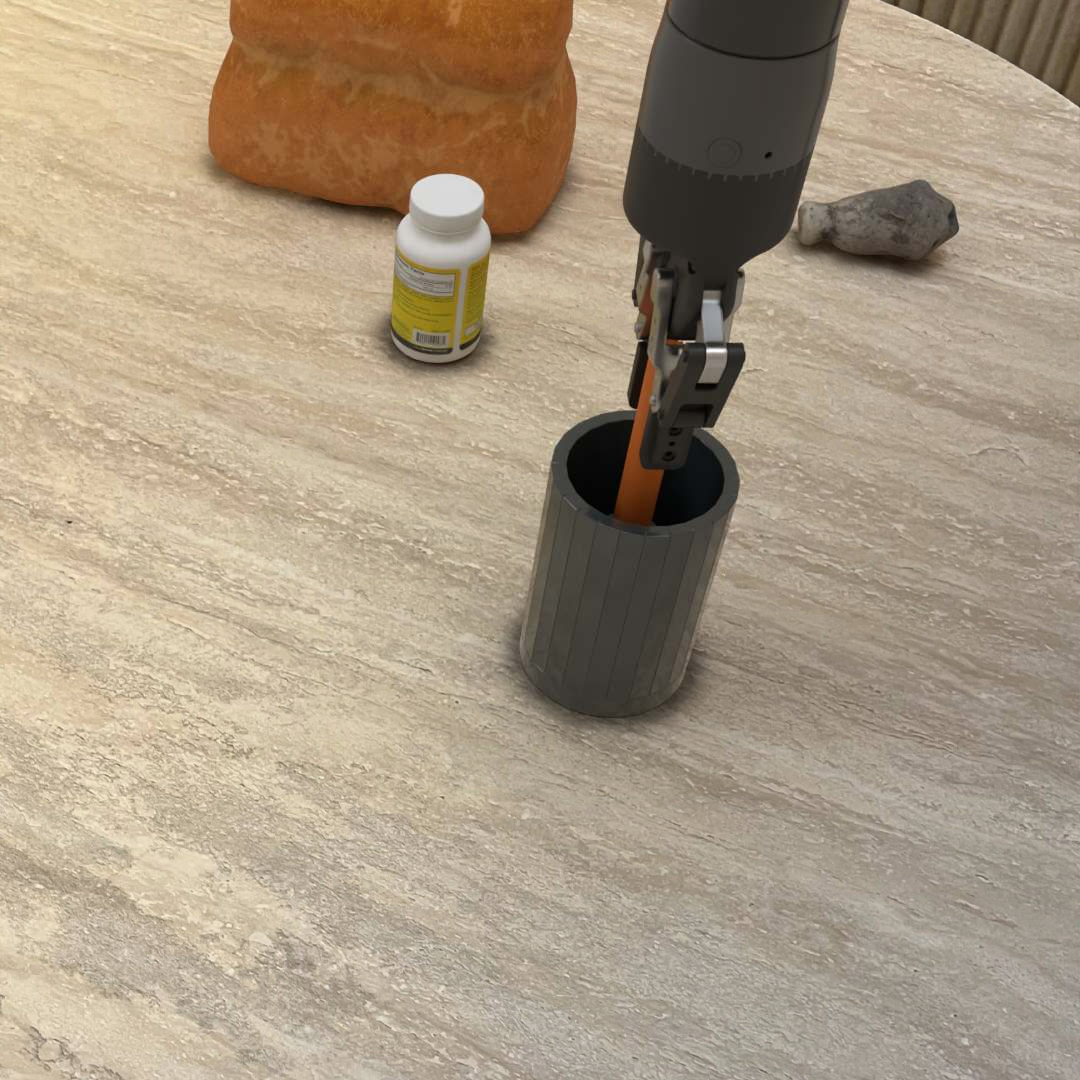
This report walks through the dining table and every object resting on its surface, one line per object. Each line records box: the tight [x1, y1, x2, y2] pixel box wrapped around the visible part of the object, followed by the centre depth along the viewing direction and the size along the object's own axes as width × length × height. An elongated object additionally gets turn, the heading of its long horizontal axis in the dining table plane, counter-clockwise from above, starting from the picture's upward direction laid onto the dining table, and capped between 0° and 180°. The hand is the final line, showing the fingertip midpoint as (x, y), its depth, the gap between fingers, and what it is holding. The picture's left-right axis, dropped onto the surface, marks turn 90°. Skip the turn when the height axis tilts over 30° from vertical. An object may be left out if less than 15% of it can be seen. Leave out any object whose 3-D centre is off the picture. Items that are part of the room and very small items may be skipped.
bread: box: [207, 0, 578, 236], centre depth 122 cm, size 16×26×17 cm, turn 70°
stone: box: [797, 178, 960, 262], centre depth 120 cm, size 10×5×8 cm
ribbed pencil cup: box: [518, 409, 741, 718], centre depth 93 cm, size 10×10×14 cm
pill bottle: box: [390, 174, 492, 364], centre depth 111 cm, size 6×6×11 cm
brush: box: [608, 340, 685, 526], centre depth 89 cm, size 4×4×20 cm
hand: (654, 432), depth 85 cm, fingers open, 4 cm apart
